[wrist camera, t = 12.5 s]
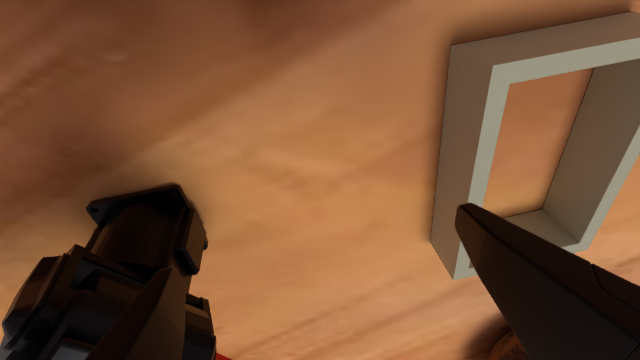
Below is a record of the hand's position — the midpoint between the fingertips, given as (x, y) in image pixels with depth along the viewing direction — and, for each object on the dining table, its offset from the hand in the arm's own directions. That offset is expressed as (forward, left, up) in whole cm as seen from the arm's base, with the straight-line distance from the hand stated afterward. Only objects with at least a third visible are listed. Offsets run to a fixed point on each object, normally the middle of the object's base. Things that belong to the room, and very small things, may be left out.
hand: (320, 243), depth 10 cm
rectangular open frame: (+17, -8, -13) cm, 23 cm away
